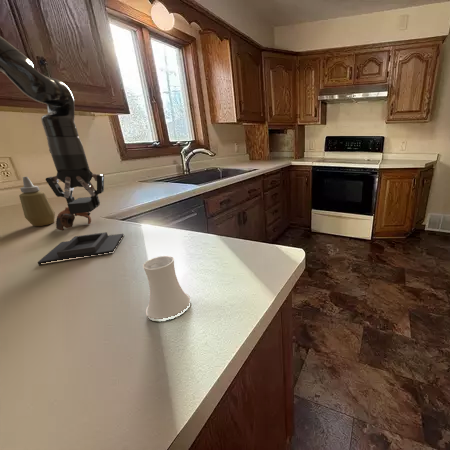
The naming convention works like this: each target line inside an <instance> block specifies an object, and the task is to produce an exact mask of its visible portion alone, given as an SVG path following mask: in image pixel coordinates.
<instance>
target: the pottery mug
mask: <svg viewBox="0 0 450 450" xmlns="http://www.w3.org/2000/svg"><path fill="white" fill-rule="evenodd" d="M91 213H92V212H84V213H74V214H70V211H69V208H68V206H66V207H65V208H64V209H63V210H61V211H60V212H58V214H57V216H56V219H55V220H56V221H55V226H56V227H55V228H56V229H57V230H60V231H64V230H65V229H71V228H73V226H74V221H75V220H76V217H77V216H78V217H84V218H86V219H87V223H88V224H89V225H90V224H92V218H91ZM64 228H65V229H64Z"/></svg>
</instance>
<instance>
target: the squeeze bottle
mask: <svg viewBox="0 0 450 450" xmlns="http://www.w3.org/2000/svg"><path fill="white" fill-rule="evenodd" d="M22 184H23V186H22V187H19V189H20V192H21V193H20V194H19V195H18V197H19V201H20V204H21V207H22V208H21V209H22V212H23V215H24V218H25V220H26V221H28V222H29V224H30V225H32V226H33V227H44V226H49V225H51V224H54V223H55V220H56V219H55V218H56V217H55V216H56V212H55V209H54V208H53V206H52V204H51V203H50V201H49V198H48V197H47V195H46V193H45V191H41V190H40V187H39V186H38V185H34V184H33V182H32V181H31V179H30V177H28V176H22Z"/></svg>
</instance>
